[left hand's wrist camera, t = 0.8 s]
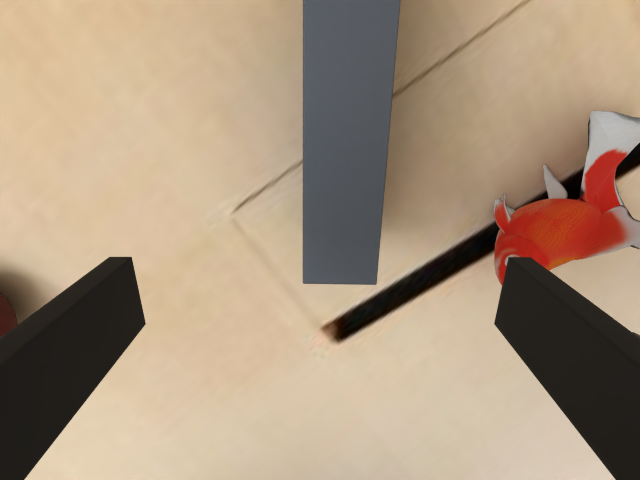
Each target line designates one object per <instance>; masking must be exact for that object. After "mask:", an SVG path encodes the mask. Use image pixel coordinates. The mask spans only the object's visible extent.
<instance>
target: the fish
mask: <svg viewBox="0 0 640 480" xmlns="http://www.w3.org/2000/svg"><path fill="white" fill-rule="evenodd" d="M639 142H640V118H637V117H631V116H627V115H624V114H620V113H616V112H606V111H591V114H590V119H589V123H588V152H587V157H586V162H585V168H584V173H583V179H582V185H581V190H580V196H579V199H577V200H573V199H567V198H568V195H567V191H566V190H565V189H564V187H563V186H562V185H561V184H560V183H559V181H558V180H557V179H556V178H555V176H554V175H553V174H552V172H551V171H550V170H549V168H548V167H547V166H546V165H543V169H544V180H545V185H546V189H547V192H548V196H549V199H545V200H540V201H536V202H533V203H530V204H528V205H525V206H523V207H521V208H519V209H517V210H516V211H515V210H514V209H513V208H511V207H509V206H507V205H506V194H504V195H503V196H502V198H501V200H500V199H497V200H495V202H494V218H495V221H496V223H497V225H498V226H499V228H500V230H499V232H498V235H497V239H496V243H495V263H494V264H495V271H496V275H497V278H498V280H499V282H500V283H501V285H503V281H504V276H505V271H506V266H507V262H508V257H531V258H532V259H534V260H535V261H536V262H538V263H539V264H541V265H542V266H543V267H545V268H546V269H547V270H551V269H553V268H555V267H557V266H559V265H562V264H564V263H567V262H569V261H571V260H576V259H577V260H578V259H584V258H589V257H593V256H597V255H601V254H605V253H609V252H613V251H616V250H619V249H622V248H625V247H629V246H631V247H634V248H637V249H640V221H638V220H635V219H634V218H632V216H631V215H630V213H629V211H628V210H627V208H626V207H625V206H624V204H623V202H622V200H621V198H620V196H619V192H618V189H617V186H616V183H615V172H616V168H617V166H618V165H619V163H620V162H621V161H622V160H623V159H624V158H625V157H626V156H627V155H628V154H629V153H630V152H631V151H632V150H633V148H634V147H635V146H636V145H637V144H638V143H639Z"/></svg>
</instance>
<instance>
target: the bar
mask: <svg viewBox="0 0 640 480" xmlns="http://www.w3.org/2000/svg"><path fill="white" fill-rule="evenodd" d="M399 11H400V0H303V283H304V284H363V285H376V283H377V272H378V260H379V248H380V236H381V224H382V212H383V200H384V189H385V177H386V165H387V153H388V141H389V129H390V117H391V106H392V94H393V82H394V70H395V58H396V46H397V35H398V23H399Z"/></svg>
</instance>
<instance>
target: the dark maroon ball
mask: <svg viewBox="0 0 640 480" xmlns="http://www.w3.org/2000/svg"><path fill="white" fill-rule="evenodd" d="M17 325H18V324H17V320H16V315H15V311H14V310H13V308H12V307H11V305H10V303H9V302H8V300H7V298H5V297H4V296H3V295H2V294H0V337H1V336H3V335H5V334H7V333H8V332H9V331H11V330H12V329H13V328H15V327H16V326H17Z"/></svg>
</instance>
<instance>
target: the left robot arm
mask: <svg viewBox="0 0 640 480" xmlns="http://www.w3.org/2000/svg"><path fill="white" fill-rule="evenodd" d="M145 324H146V323H145V319H144V314H143V309H142V304H141V300H140V295H139V290H138V285H137V281H136V276H135V271H134V266H133V262H132V257H109V258H108V259H106V260H105V261H104V262H102V263H101V264H99V265H98V266H97V267H95V268H94V269H93V270H91V271H90V272H89V273H87V274H86V275H85V276H83V277H82V278H81V279H79V280H78V281H77V282H75V283H74V284H73V285H71V286H70V287H69V288H67V289H66V290H65V291H63V292H62V293H60V294H59V295H58V296H56V297H55V298H54V299H52V300H51V301H50V302H48V303H47V304H46V305H44V306H43V307H42V308H40V309H39V310H38V311H36V312H35V313H34V314H32V315H31V316H30V317H28V318H27V319H26V320H24V321H23V322H21V323H20V324H19V325H17V326H16V327H15V328H13V329H12V330H11V331H9V332H8V333H7V334H5V335H3V336H1V337H0V480H24V479H25V478H26V477H27V475H28V474H29V473H30V472H31V470H32V469H33V468H34V466H35V465H36V464H37V463H38V461H39V460H40V459H41V457H42V456H43V455H44V454H45V452H46V451H47V450H48V448H49V447H50V446H51V445H52V443H53V442H54V441H55V439H56V438H57V437H58V436H59V434H60V433H61V432H62V431H63V429H64V428H65V427H66V425H67V424H68V423H69V422H70V420H71V419H72V418H73V416H74V415H75V414H76V413H77V411H78V410H79V409H80V407H81V406H82V405H83V404H84V402H85V401H86V400H87V398H88V397H89V396H90V395H91V393H92V392H93V391H94V390H95V388H96V387H97V386H98V384H99V383H100V382H101V381H102V379H103V378H104V377H105V375H106V374H107V373H108V372H109V370H110V369H111V368H112V366H113V365H114V364H115V363H116V361H117V360H118V359H119V357H120V356H121V355H122V354H123V352H124V351H125V350H126V348H127V347H128V346H129V345H130V343H131V342H132V341H133V340H134V338H135V337H136V336H137V334H138V333H139V332H140V331H141V329H142V328H143V327H144V325H145ZM494 324H495V325H496V327H497V328H498V329H499V331H500V332H501V333H502V334H503V336H504V337H505V338H506V340H507V341H508V342H509V343H510V345H511V346H512V347H513V348H514V350H515V351H516V352H517V354H518V355H519V356H520V357H521V359H522V360H523V361H524V363H525V364H526V365H527V366H528V368H529V369H530V370H531V372H532V373H533V374H534V375H535V377H536V378H537V379H538V381H539V382H540V383H541V384H542V386H543V387H544V388H545V390H546V391H547V392H548V393H549V395H550V396H551V397H552V398H553V400H554V401H555V402H556V404H557V405H558V406H559V407H560V409H561V410H562V411H563V413H564V414H565V415H566V416H567V418H568V419H569V420H570V422H571V423H572V424H573V425H574V427H575V428H576V429H577V431H578V432H579V433H580V434H581V436H582V437H583V438H584V439H585V441H586V442H587V443H588V445H589V446H590V447H591V448H592V450H593V451H594V452H595V454H596V455H597V456H598V457H599V459H600V460H601V461H602V463H603V464H604V465H605V466H606V468H607V469H608V470H609V472H610V473H611V474H612V475H613V477H614V478H615V479H616V480H640V335H638V334H636V333H634V332H631V331H629V330H628V329H627V328H625V327H624V326H623V325H621V324H620V323H619V322H617V321H616V320H614V319H613V318H612V317H610V316H609V315H608V314H606V313H605V312H604V311H602V310H601V309H600V308H598V307H597V306H596V305H594V304H593V303H592V302H590V301H589V300H588V299H586V298H585V297H584V296H582V295H581V294H580V293H578V292H577V291H575V290H574V289H573V288H571V287H570V286H569V285H567V284H566V283H565V282H563V281H562V280H561V279H559V278H558V277H557V276H555V275H554V274H553V273H551V272H550V271H549V270H547V269H546V268H545V267H543V266H542V265H541V264H539V263H538V262H536V261H535V260H534V259H532V258H531V257H508V262H507V266H506V271H505V276H504V281H503V285H502V290H501V295H500V300H499V304H498V309H497V314H496V319H495V323H494Z"/></svg>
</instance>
